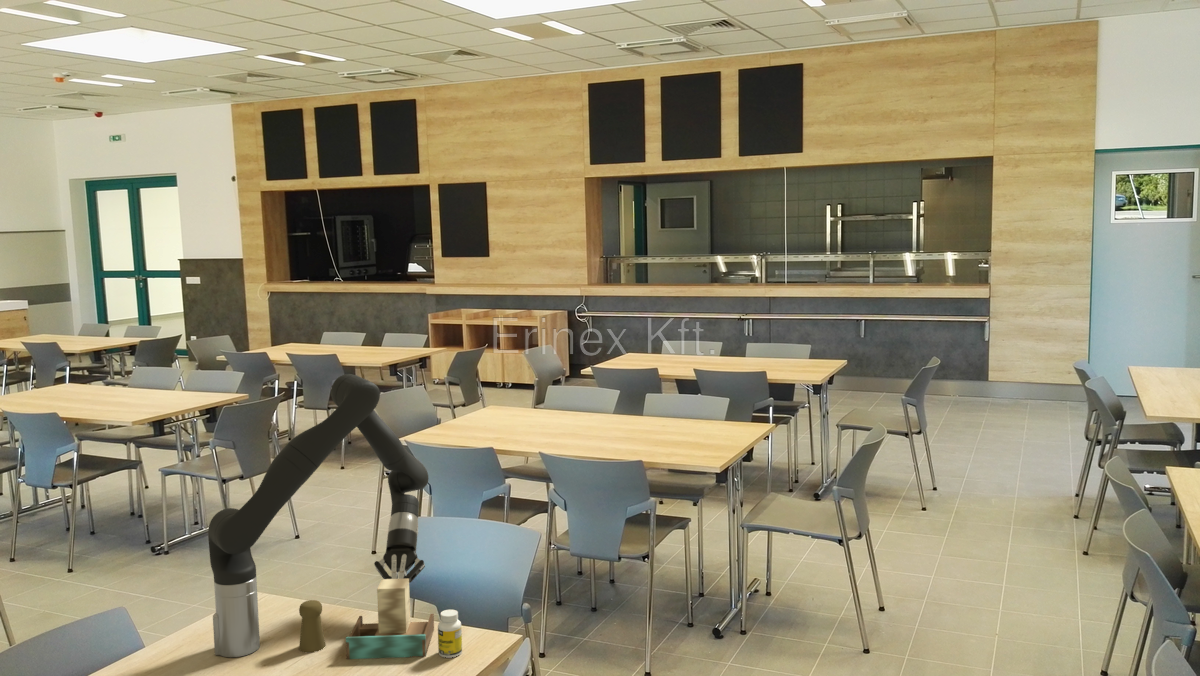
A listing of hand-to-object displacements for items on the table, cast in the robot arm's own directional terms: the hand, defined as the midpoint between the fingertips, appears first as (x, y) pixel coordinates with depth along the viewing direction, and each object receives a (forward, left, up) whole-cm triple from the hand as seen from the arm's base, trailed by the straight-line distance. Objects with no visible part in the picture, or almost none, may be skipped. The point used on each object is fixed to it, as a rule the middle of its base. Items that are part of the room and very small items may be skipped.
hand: (396, 597), depth 230 cm
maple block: (0, -4, -6) cm, 7 cm away
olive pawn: (-18, -9, -8) cm, 22 cm away
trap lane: (0, -9, -8) cm, 12 cm away
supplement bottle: (+15, -15, -8) cm, 23 cm away
